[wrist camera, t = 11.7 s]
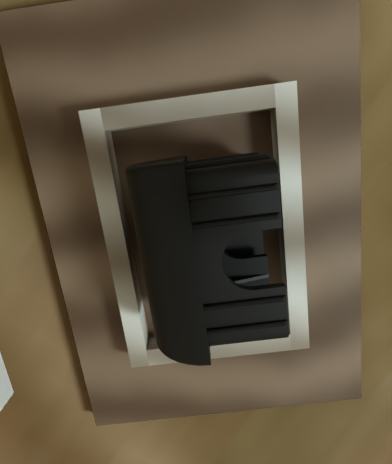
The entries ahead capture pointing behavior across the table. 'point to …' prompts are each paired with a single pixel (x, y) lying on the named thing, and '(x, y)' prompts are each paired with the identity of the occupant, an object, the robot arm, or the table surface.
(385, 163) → the table surface
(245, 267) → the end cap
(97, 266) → the lens rest
